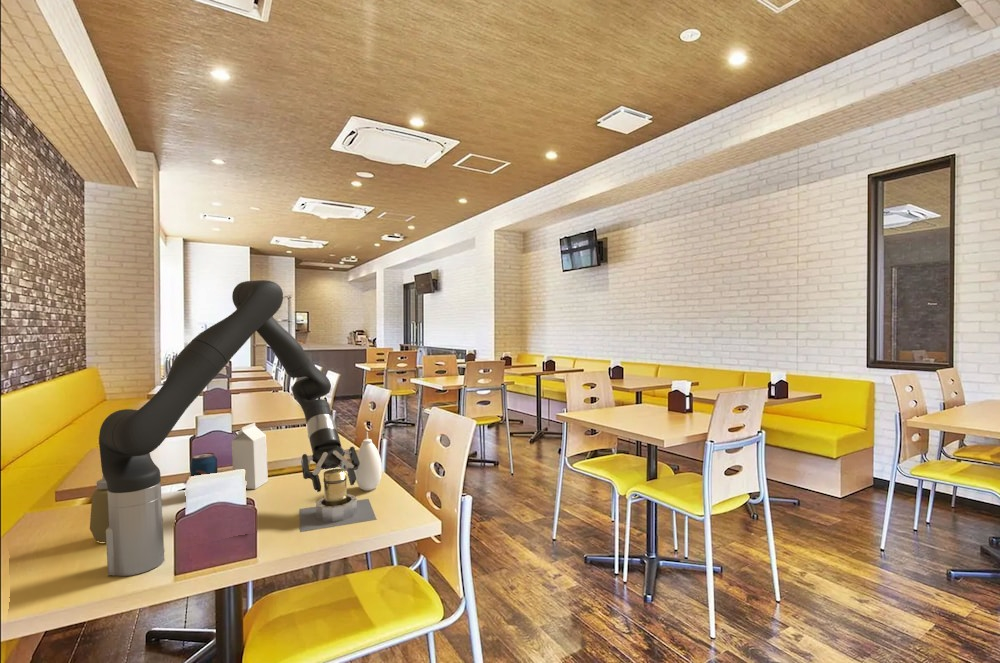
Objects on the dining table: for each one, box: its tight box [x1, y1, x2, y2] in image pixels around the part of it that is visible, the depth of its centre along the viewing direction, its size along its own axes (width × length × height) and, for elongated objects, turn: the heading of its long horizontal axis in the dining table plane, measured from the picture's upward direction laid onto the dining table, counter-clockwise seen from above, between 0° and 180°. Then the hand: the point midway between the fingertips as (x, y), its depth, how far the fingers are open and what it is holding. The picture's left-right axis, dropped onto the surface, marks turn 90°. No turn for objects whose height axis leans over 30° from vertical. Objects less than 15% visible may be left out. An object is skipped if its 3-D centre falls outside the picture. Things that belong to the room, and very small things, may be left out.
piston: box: [322, 468, 348, 506], centre depth 134 cm, size 6×6×11 cm
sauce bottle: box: [354, 431, 383, 492], centre depth 153 cm, size 8×8×18 cm
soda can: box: [189, 452, 219, 477], centre depth 153 cm, size 7×7×12 cm
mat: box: [299, 498, 378, 533], centre depth 134 cm, size 18×16×1 cm
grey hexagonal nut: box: [315, 493, 357, 522], centre depth 134 cm, size 10×10×4 cm
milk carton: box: [231, 422, 269, 490], centre depth 161 cm, size 7×7×19 cm
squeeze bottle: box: [89, 475, 109, 542], centre depth 124 cm, size 8×8×18 cm
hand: (336, 487), depth 133 cm, fingers open, 8 cm apart
